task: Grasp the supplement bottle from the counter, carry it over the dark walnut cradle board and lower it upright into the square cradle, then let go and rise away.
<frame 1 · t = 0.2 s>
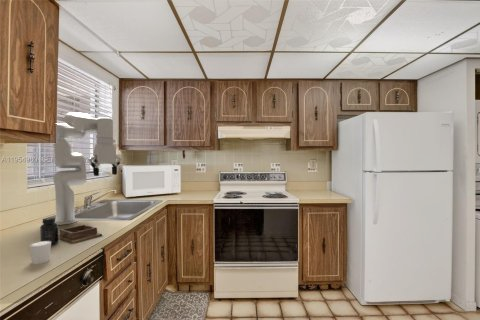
hand: (105, 175, 138), 31 cm above the table, tool pointing down, fingers open, 9 cm apart
bottle cradle: (78, 236, 135), on the table
supplement bottle: (49, 244, 124), on the table
shot glass: (40, 261, 104), on the table
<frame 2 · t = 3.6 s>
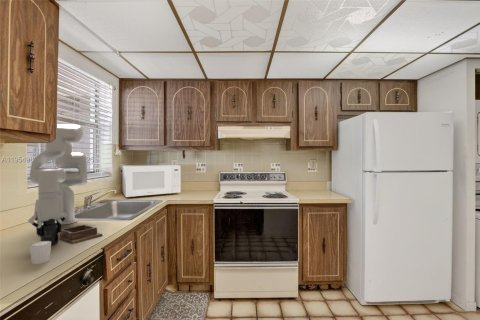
hand: (49, 233, 124), 5 cm above the table, tool pointing down, fingers closed on supplement bottle, 6 cm apart
supplement bottle: (49, 244, 124), on the table, touching gripper
everything else where it was.
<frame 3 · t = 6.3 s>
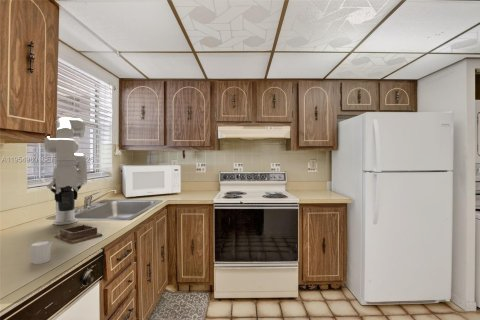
hand: (66, 200, 131), 19 cm above the table, tool pointing down, fingers closed on supplement bottle, 6 cm apart
supplement bottle: (66, 210, 131), point 14 cm above the table, touching gripper
everything else where it was.
when the fingers open (8 cm above the table, at t = 9.5 s): supplement bottle drops 2 cm, resting on bottle cradle.
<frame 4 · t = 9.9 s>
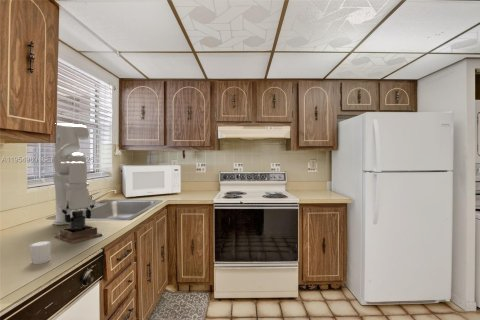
hand: (78, 220, 135), 8 cm above the table, tool pointing down, fingers open, 9 cm apart
supplement bottle: (78, 235, 135), point 1 cm above the table, touching bottle cradle
everything else where it was.
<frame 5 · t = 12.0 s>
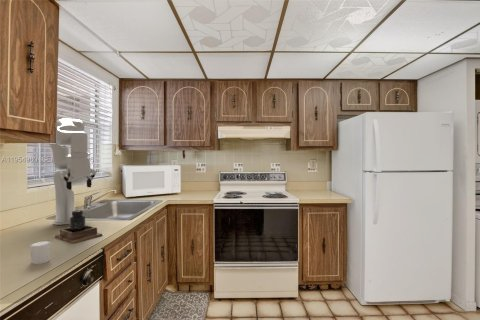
hand: (79, 188, 140), 24 cm above the table, tool pointing down, fingers open, 9 cm apart
nothing on the table moved.
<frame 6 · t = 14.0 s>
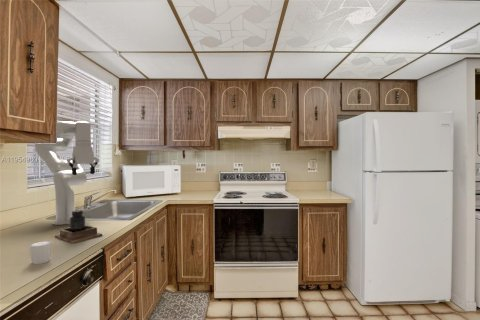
hand: (83, 174, 151), 30 cm above the table, tool pointing down, fingers open, 9 cm apart
nothing on the table moved.
at the end: supplement bottle 0.3 cm off-centre on the bottle cradle, point 0.8 cm above the bottle cradle's base; supplement bottle tilted 0°; the gripper is holding nothing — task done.
